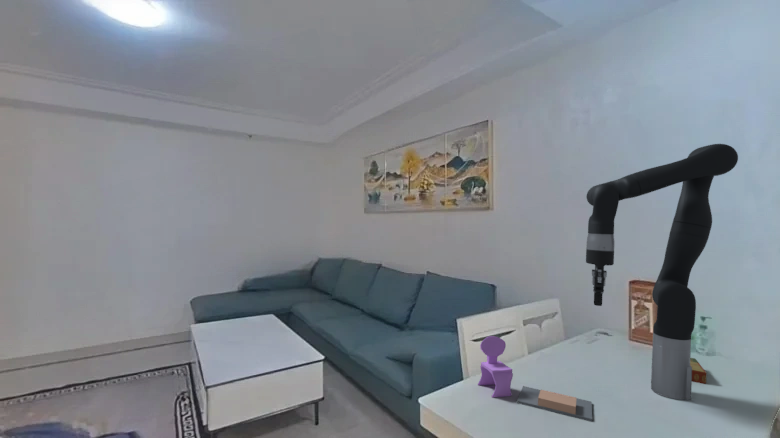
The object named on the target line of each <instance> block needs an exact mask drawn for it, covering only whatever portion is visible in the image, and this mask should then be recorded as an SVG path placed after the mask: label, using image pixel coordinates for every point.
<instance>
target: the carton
mask: <svg viewBox="0 0 780 438" xmlns="http://www.w3.org/2000/svg"><path fill="white" fill-rule="evenodd" d="M690 365H691V367H692V383H698V384H703V385H706V384H707V373H708V372H707V371H706V370H705V369H704V368H703V366H702V365H701V364H700V362H699V361H698V360H697V359H696V358H694V357H690Z"/></svg>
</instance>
